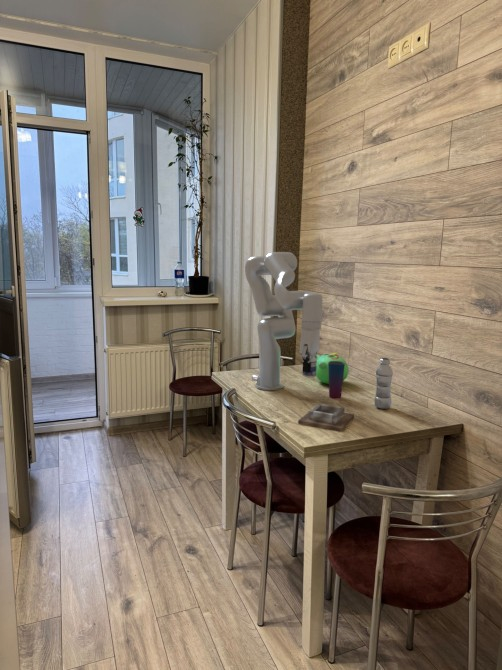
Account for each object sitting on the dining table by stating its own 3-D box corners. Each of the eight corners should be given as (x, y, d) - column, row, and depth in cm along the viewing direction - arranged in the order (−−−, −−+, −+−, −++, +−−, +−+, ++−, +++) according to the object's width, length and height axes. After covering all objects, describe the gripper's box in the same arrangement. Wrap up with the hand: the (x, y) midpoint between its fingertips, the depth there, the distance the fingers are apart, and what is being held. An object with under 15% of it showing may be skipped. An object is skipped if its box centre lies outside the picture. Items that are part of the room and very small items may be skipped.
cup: (343, 399, 198) (344, 364, 195) (326, 398, 199) (327, 364, 196) (343, 395, 204) (344, 361, 202) (327, 394, 206) (328, 360, 203)
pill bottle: (301, 374, 189) (302, 350, 187) (314, 374, 189) (315, 350, 187) (303, 378, 184) (304, 353, 182) (317, 378, 184) (318, 353, 182)
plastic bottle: (382, 411, 183) (385, 361, 180) (370, 406, 189) (372, 357, 186) (394, 409, 186) (397, 359, 183) (382, 404, 192) (385, 356, 189)
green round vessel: (354, 387, 216) (355, 356, 213) (319, 389, 212) (320, 357, 209) (337, 377, 233) (338, 348, 230) (305, 379, 229) (306, 349, 226)
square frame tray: (298, 423, 170) (298, 412, 169) (313, 410, 184) (313, 400, 183) (341, 431, 163) (341, 419, 162) (354, 417, 177) (354, 406, 176)
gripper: (310, 321, 192) (308, 364, 195) (293, 327, 177) (292, 374, 180) (327, 322, 188) (325, 366, 192) (312, 329, 173) (310, 377, 177)
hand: (309, 369), depth 186 cm, fingers closed on pill bottle, 5 cm apart
